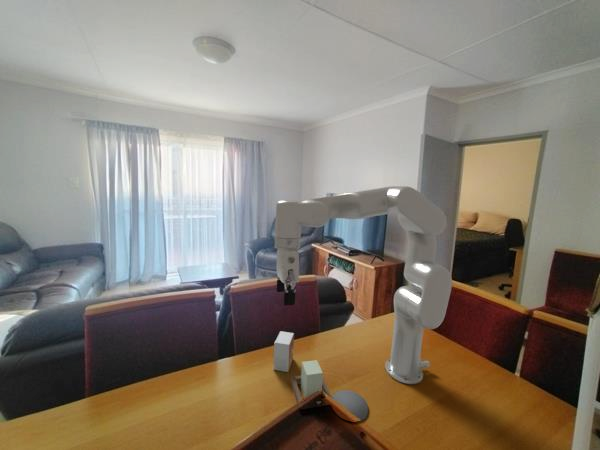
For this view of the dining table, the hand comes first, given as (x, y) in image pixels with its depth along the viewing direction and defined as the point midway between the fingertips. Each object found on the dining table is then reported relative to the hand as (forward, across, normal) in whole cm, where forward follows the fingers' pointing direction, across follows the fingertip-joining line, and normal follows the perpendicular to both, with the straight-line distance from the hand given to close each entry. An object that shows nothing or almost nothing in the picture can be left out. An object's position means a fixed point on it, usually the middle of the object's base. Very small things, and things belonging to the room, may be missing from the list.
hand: (285, 297), depth 78 cm
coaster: (+31, -11, -18) cm, 38 cm away
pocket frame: (+31, -3, -9) cm, 32 cm away
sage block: (+31, -3, -9) cm, 32 cm away
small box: (+31, +12, -4) cm, 34 cm away
